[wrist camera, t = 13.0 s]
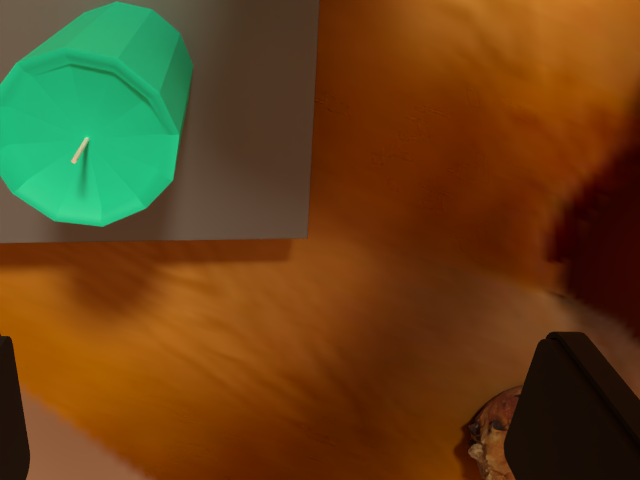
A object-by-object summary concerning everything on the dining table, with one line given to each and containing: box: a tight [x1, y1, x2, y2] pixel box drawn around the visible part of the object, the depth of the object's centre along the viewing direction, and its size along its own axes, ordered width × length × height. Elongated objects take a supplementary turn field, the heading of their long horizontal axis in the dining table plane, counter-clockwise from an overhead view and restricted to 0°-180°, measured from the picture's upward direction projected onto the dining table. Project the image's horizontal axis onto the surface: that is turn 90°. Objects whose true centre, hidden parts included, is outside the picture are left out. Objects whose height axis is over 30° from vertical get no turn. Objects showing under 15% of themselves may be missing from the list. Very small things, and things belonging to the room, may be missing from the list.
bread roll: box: [468, 385, 523, 480], centre depth 48 cm, size 10×10×8 cm
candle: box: [0, 2, 193, 227], centre depth 24 cm, size 6×6×12 cm
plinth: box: [0, 0, 320, 243], centre depth 31 cm, size 18×18×4 cm
